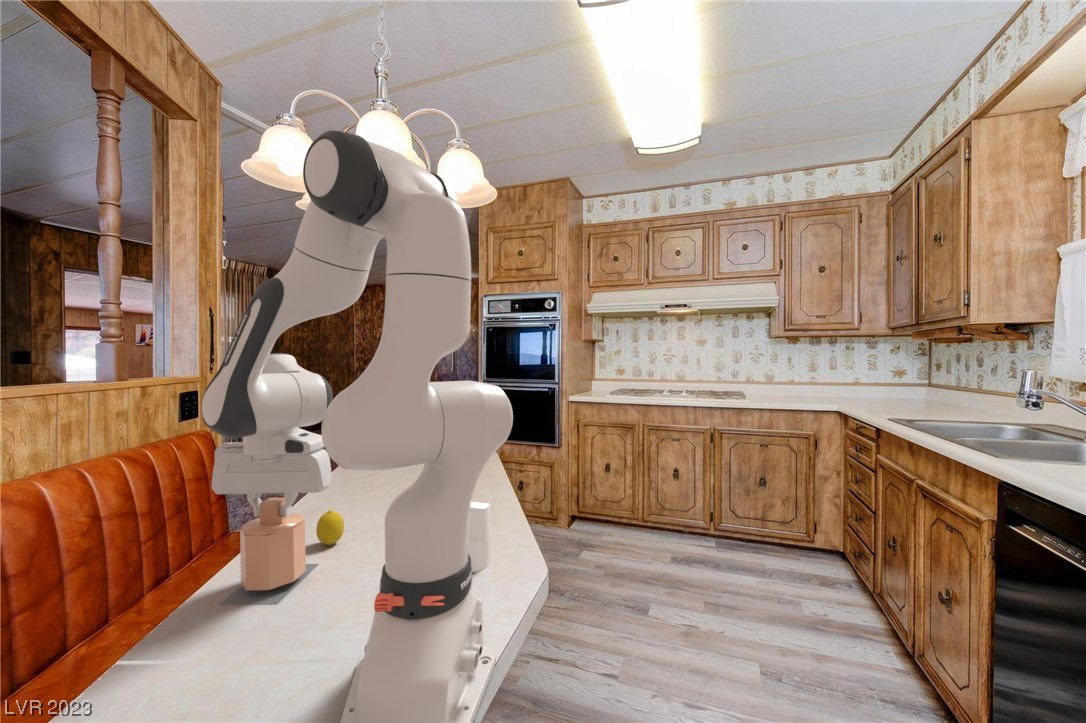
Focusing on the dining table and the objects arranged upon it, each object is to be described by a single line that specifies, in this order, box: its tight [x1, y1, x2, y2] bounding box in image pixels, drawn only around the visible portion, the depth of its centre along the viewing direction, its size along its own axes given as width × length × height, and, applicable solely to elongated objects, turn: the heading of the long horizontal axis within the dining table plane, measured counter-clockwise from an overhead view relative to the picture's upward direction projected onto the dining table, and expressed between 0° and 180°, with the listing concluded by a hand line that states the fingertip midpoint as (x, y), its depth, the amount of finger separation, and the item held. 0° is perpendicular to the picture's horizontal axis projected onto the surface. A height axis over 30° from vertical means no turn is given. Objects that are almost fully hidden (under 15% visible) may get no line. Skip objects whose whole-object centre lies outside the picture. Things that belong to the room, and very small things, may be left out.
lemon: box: [315, 509, 345, 546], centre depth 95 cm, size 6×6×8 cm
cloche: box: [239, 497, 307, 591], centre depth 79 cm, size 10×10×14 cm
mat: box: [217, 563, 320, 606], centre depth 79 cm, size 14×10×1 cm
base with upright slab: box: [468, 501, 491, 573], centre depth 88 cm, size 9×9×12 cm
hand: (273, 516), depth 79 cm, fingers closed on cloche, 3 cm apart
